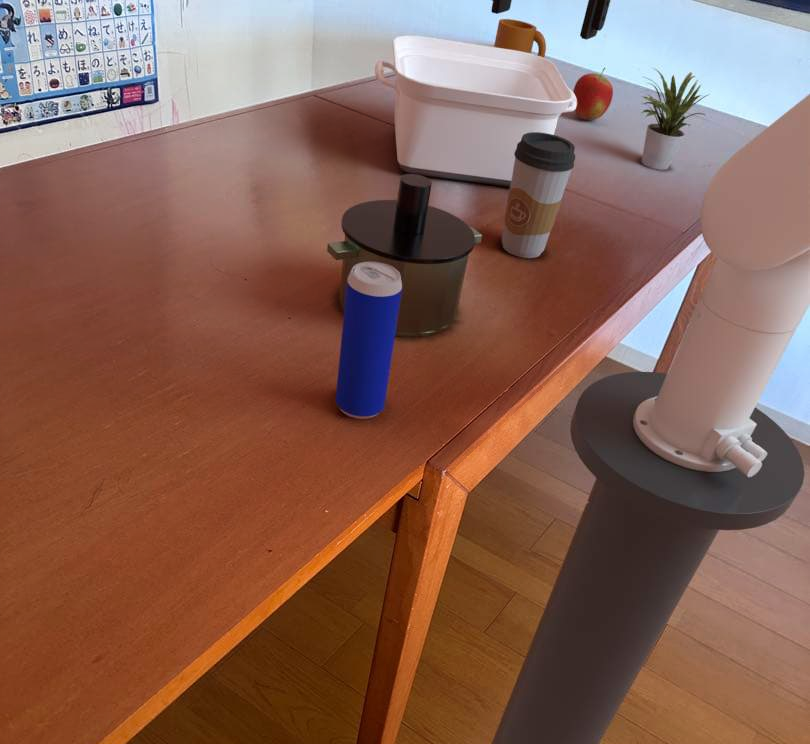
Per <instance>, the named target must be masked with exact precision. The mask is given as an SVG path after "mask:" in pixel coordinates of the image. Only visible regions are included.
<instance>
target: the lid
mask: <svg viewBox="0 0 810 744" xmlns="http://www.w3.org/2000/svg"><path fill="white" fill-rule="evenodd" d="M398 183H399V184H398V190H397V198H396V199H378V200H369V201H364V202H360V203H357V204H355V205H353V206H351V207H349V208H348V209H346V210H345V212H344V213H343V214H342V217H341V221H340V222H341V223H340V224H341V230H342V232H343V234H344V236H345V235H346V236H347V238H348V239H349V240H350V241H352V242H353V243H354V244H356V245H357V246H359V247H360V248H362V249H364V250H366V251H368V252H371V253H373V254H375V255H378V256H381V257H384V258H388V259H391V260H396V261H401V262H407V263H415V264H441V263H448V262H452V261H456V260H459V259H461V258H463V257H465V256H467V255H468V254H469V255H470V254H471V253H472V251H473V250H474V247H475V244H476V243H475V235H474V233H473V231H472V229H471V228H470V227H471V226H470V225H468V224H467V223H466V222H465V221H464V220H462V219H461V218H460V217H457V216H456V215H454V214H452V213H450V212H448V211H445V210H443V209H441V208H437V207H435V206H432V205H429V203H430V197H431V189H432V186H433V185H432V184H433V182H432V180H431V179H430V178H428V177H427V176H425V175H417V174H410V173H406V174H402V175H401V176H400V177H399V182H398Z"/></svg>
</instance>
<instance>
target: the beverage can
mask: <svg viewBox="0 0 810 744" xmlns="http://www.w3.org/2000/svg"><path fill="white" fill-rule="evenodd" d="M401 292H402V282H401V275H400V273H399V271H398V270H396V269H395V268H394V267H392V266H389V265H387V264H383V263H379V262H362V263H359V264H356V265H355V266H353V268H352V269H351V272H350V274H349V276H348V279H347V288H346V298H345V309H344V311H343V320H342V330H341V340H340V351H339V359H338V360H339V361H338V369H337V370H338V371H337V379H336V380H337V381H336V391H335V404H336V406H337V407H338V409H339V410H340V411H341V412H342V413H343V414H344V415H346V416H348V417H350V418H353V419H357V420H367V419H372V418H374V417H376V416H378V415H379V414H380V413H381V412H382V411H384V409H385V405H386V399H387V391H388V385H389V379H390V371H391V364H392V360H393V353H394V344H395V338H396V336H395V332H396V326H397V319H398V312H399V306H400V299H401Z"/></svg>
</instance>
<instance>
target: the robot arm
mask: <svg viewBox="0 0 810 744" xmlns="http://www.w3.org/2000/svg"><path fill="white" fill-rule="evenodd" d="M491 1H492V5H491V10H490V11H491V13H493V14H496V15H498V14H502V13H504V12H508V11H510V9H511V6H512V2H513V0H491ZM610 5H611V0H588V1H587V5H586V10H585V14H584V17H583V21H582V24H581V29H580V33H579V36H580V38H581V39H583V40H586V41H587V40H589V39H592V38H594V37H596V36H597V34H598V32H600V31H602V29H603V28H604V25H605V23H606V18H607V15H608V12H609V7H610ZM699 225H700V232H701V236H702V238H703V242H704V243H705V245H706V247H707V248H708V250H710V252H711V254H713V255H714V256H715V257H716V260H715V262H714V265H713V267H712V268H711V270H710V272H709V276H708V277H707V279H706V281H705V284H704V287H703V289H702V291H701V293H700V295H699V298H698V300H697V303H696V305H695V306H694V310H693V312H692V314H691V317H690V319H689V321H688V323H687V326H686V328H685V331H684V333H683V335H682V338H681V340H680V342H679V344H678V347H677V349H676V352H675V353H674V357H673V359H672V362H671V364H670V366H669V367H668V368H669V369H668V371H667V373H666V374H667V375H666V378H665V380H664V382H663V385H662V387H661V390H660V392H659V394H658V396H657V397H653V398H650V399H647V400H645V401H644V402H642V403H641V404H640V405H639V406H638V408H637V410H636V412H635V414H634V418H633V427H634V429H635V432H636V434H637V435H638V437H639V438H640V440H641V441H642V442H643V443H644V444H645V445H646V446H647V447H648V448H649V449H650V450H652V451H653V452H654V453H656V454H657V455H659V456H661V457H662V458H664V459H666V460H668V461H670V462H672V463H674V464H676V465H679V466H682V467H685V468H689V469H693V470H697V471H705V472H721V471H727V470H731V469H733V468H738V469H739V470H740V471H741V472H743V473H744V474H745V475H746V476H747V477H752V476H753V475H755V474H756V473H757V472H758V471H759V470H760V468H761V466H762V462H761V461H763V460H764V459H765V457H766V456H767V452H766V451H765V450H764V449H762V448H761V447H760V446H758V445H756V444H755V443H754V442H752V438H751V437H750V436H751V434H752V432H753V430H754V429H755V427H756V425H757V424H756V423H755V422H753V421H752V420H751V419H750V416H751V414H752V412H753V410H754V408H755V407H756V406H757V404H758V402H759V401H760V399H761V397H762V395H763V393H764V391H765V389H766V388H767V386H768V384H769V382H770V380H771V378H772V376H773V374H774V372H775V371H776V369H777V367H778V364H779V363H780V361H781V359H782V357H783V355H784V353H785V352H786V350H787V348H788V347H789V344H790V342H791V340H792V338H793V336H794V334H795V332H796V330H797V329H798V327H799V326H800V324H801V322H802V320H803V318H804V316H805V314H806V312H807V311H808V309H809V307H810V93H809V94H807V95H806V96H805V97H804V98H802V99H801V100H800V101H799V102H797V103H796V104H795V105H794V106H793V107H791V108H790V109H789V110H788V111H786V112H785V113H784V114H783V115H781V116H780V117H779V118H777V119H776V120H775V121H773V122H772V123H771V124H770V125H769V126H767V127H766V128H765V129H764V130H762V131H761V132H760V133H759V134H758V135H756V136H755V137H753V138H752V139H751V140H750V141H749V142H747V143H746V144H745V145H743V146H742V147H741V148H740V149H739V150H737V151H736V152H735V153H734V154H733V155H732V156H730V157H729V159H727V160H726V161H725V162H724V163H723V164H722V165H721V167H719V169H718V170H717V171H716V172H715V174H714V175H713V177H712V178H711V180H710V181H709V184H708V186H707V187H706V190H705V192H704V195H703V198H702V202H701V206H700V212H699Z"/></svg>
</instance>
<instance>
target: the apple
mask: <svg viewBox="0 0 810 744" xmlns="http://www.w3.org/2000/svg"><path fill="white" fill-rule="evenodd" d="M605 69H606V67H603V69H602V72H601V73H600V74H599V73H585V74H583V75H582V76H581V77H579V78H578V79H577V81H576V82H575V85H574V88H573V90H572V91H573V93H574V94H575V96H576V99H577V106H576V109H575V110H574V113H575V114H576V116H577V117H578V118H580V119H582V120H587V121H594V120H598V119H600V118H601V117H602V116H604V114H606V113H607V111H608V110H609V107H610V106H611V103H612V100H613V96H614V89H613V85H612V83H611V82H610V80H609V79H607V78H606V76H603V73H604V71H605Z"/></svg>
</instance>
